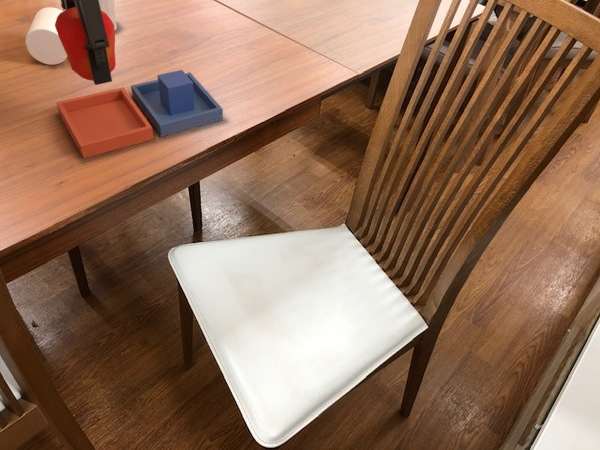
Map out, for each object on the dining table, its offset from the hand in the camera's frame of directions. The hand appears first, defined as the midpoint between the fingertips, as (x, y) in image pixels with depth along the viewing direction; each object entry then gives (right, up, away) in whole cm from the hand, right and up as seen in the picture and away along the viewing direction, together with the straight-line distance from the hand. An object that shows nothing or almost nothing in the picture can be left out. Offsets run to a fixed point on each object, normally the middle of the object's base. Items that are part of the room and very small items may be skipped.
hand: (93, 68), depth 85 cm
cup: (-12, +20, +34) cm, 42 cm away
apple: (0, -1, +1) cm, 1 cm away
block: (+11, -3, +14) cm, 18 cm away
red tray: (-1, -8, +8) cm, 12 cm away
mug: (-16, +11, +25) cm, 31 cm away
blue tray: (+10, -3, +15) cm, 18 cm away
